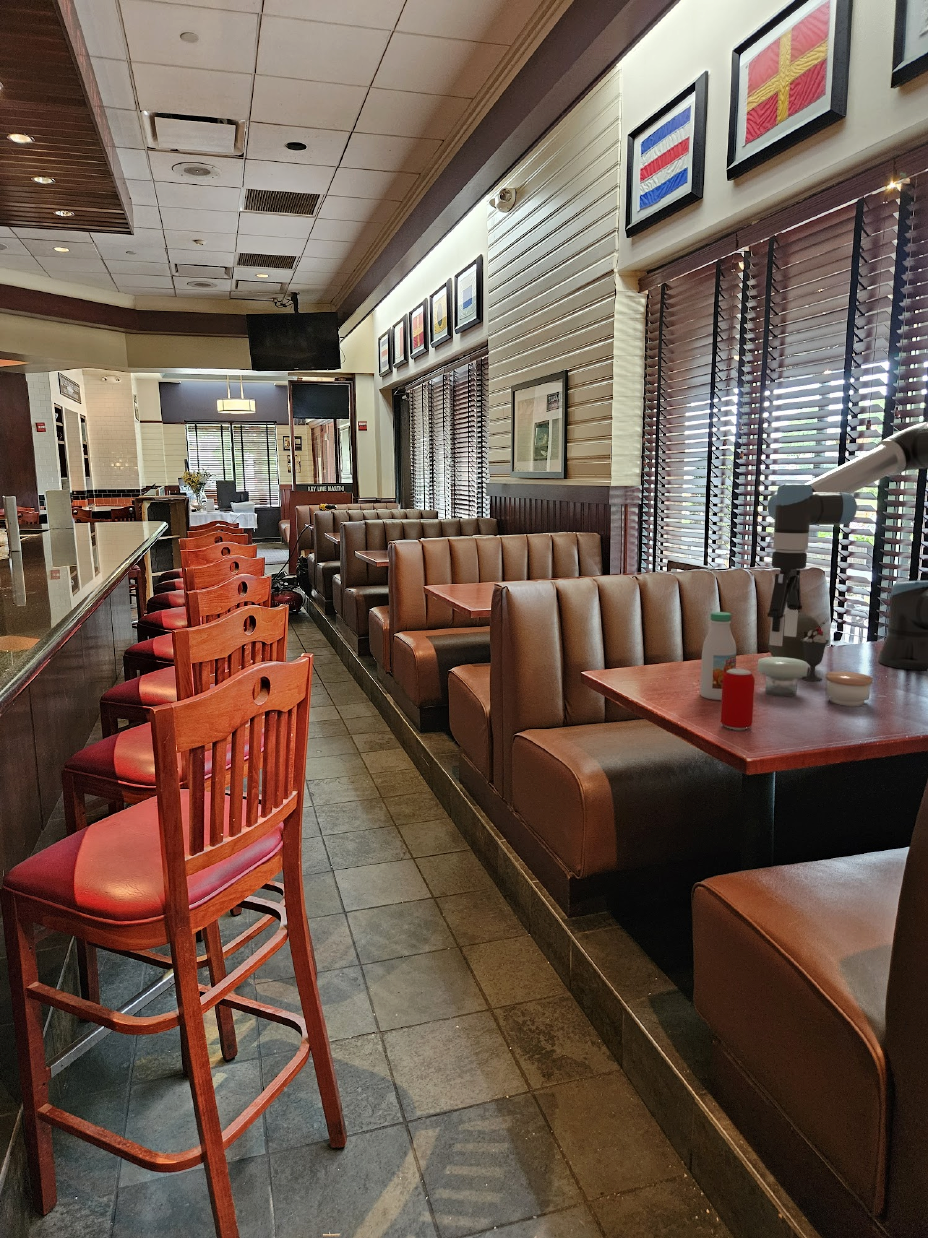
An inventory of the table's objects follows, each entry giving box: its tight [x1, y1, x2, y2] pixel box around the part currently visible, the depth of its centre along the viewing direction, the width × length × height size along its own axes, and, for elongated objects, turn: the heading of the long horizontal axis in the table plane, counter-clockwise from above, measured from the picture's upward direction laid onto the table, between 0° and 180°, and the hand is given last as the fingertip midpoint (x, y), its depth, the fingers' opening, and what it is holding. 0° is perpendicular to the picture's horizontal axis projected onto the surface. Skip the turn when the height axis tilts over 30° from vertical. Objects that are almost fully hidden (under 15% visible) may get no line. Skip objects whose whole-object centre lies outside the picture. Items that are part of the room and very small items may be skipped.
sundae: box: [800, 622, 830, 682], centre depth 204 cm, size 7×7×15 cm
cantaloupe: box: [766, 612, 821, 662], centre depth 216 cm, size 14×14×15 cm
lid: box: [757, 656, 809, 678], centre depth 191 cm, size 11×11×2 cm
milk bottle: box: [699, 611, 737, 701], centre depth 188 cm, size 8×8×20 cm
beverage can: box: [720, 668, 756, 731], centre depth 165 cm, size 6×6×12 cm
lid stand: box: [764, 675, 799, 697], centre depth 192 cm, size 7×7×5 cm
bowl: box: [825, 670, 874, 707], centre depth 184 cm, size 10×10×6 cm
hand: (782, 640), depth 190 cm, fingers open, 13 cm apart
